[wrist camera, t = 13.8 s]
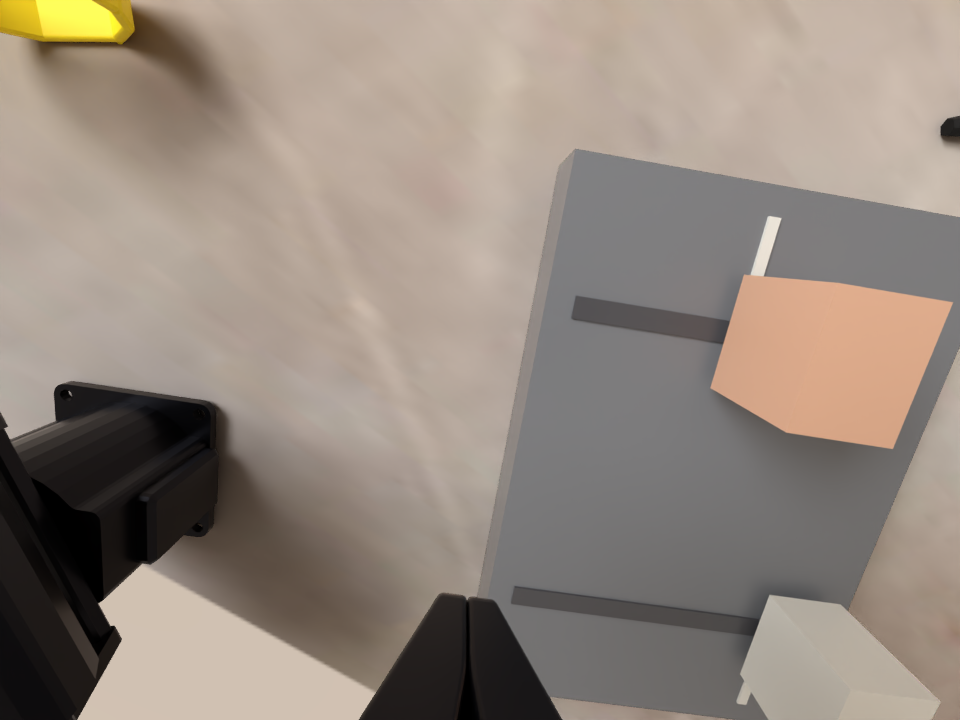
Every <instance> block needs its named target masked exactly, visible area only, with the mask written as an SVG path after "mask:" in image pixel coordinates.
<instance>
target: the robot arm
mask: <svg viewBox="0 0 960 720" xmlns="http://www.w3.org/2000/svg"><path fill="white" fill-rule="evenodd" d="M68 391H70V392H71V393H72V396H73V397H71V396H70V395H69V392H68ZM54 400H55V415H56V421H55V422H53V423H50V424H48V425H45V426H43V427H40V428H38V429H35V430H33V431H30V432H28V433H25V434H23V435H20V436H18V437H15V438H13V439H9V437H8V435H7V433H6V431H5V429H4V428H6V427H8V426H7V424H6V422H5V420H4V418H3V416H2V414H1V413H0V720H77V719H78V717H79V715H80V713H81V712H82V710H83V708H84V706H85V705H86V703H87V701H88V699H89V697H90V696H91V694H92V692H93V690H94V688H95V687H96V685H97V683H98V681H99V679H100V678H101V676H102V674H103V672H104V671H105V669H106V667H107V665H108V664H109V662H110V660H111V658H112V656H113V655H114V653H115V651H116V649H117V647H118V646H119V644H120V642H121V640H122V638H121V637H120V635H119V633H118V631H117V629H116V627H115V626H110V624H109V622H108V621H107V619H106V617H105V615H104V613H103V611H102V610H101V608H100V606H99V604H98V603H100V602H101V601H103V600H104V599H105V598H106V597H107V596H108V595H109V594H110V593H111V592H112V591H113V590H114V589H115V588H116V587H118V586H119V584H121V583H122V582H123V581H124V580H125V579H126V578H127V577H128V576H129V575H131V574H132V572H134V571H135V570H136V569H137V568H138V567H139V566H140V565H141V564H142V563H143V564H150V565H151V564H152V563H154V562H155V561H157V560H158V559H159V558H160V557H161V556H162V555H163V554H164V553H166V552H167V551H168V550H169V549H170V548H171V547H172V546H173V545H174V544H175V543H176V542H177V541H178V540H179V539H180V538H181V537H182V536H183V535H187V536H195V537H202V536H204V535H206V534H207V533H208V532H209V531H210V529H211V528H212V527H213V524H214V505H215V504H216V503H217V493H218V453H217V451H216V450H215V440H216V410H215V408H214V406H213V405H212V404H211V403H210V402H207V401H203V400H197V399H190V398H183V397H176V396H170V395H163V394H156V393H149V392H143V391H136V390H129V389H122V388H116V387H109V386H102V385H95V384H89V383H82V382H75V381H70V382H66V383H63V384H60V385H58V386H57V387H56V388H55V391H54ZM199 409H200V410H202V411H203V412H204V413H205V417H203V416H201V415H200V414H199V411H198V410H199ZM197 522H198V523H200V524H201V525H202V526H203V527H201V526H199V525H198V523H197ZM359 720H562V719H561V717H560V715H559V713H558V711H557V710H556V708H555V706H554V704H553V703H552V701H551V699H550V697H549V695H548V694H547V692H546V690H545V688H544V686H543V685H542V683H541V681H540V679H539V678H538V676H537V674H536V672H535V670H534V669H533V667H532V665H531V663H530V661H529V660H528V658H527V656H526V654H525V653H524V651H523V649H522V647H521V645H520V644H519V642H518V640H517V638H516V637H515V635H514V633H513V631H512V629H511V628H510V626H509V624H508V622H507V620H506V619H505V617H504V615H503V613H502V612H501V610H500V608H499V606H498V604H497V603H496V602H495V601H494V600H492V599H487V598H479V597H470V598H468V600H466V597H465V596H463V595H457V594H449V593H441V594H439V595H438V596H437V598H436V599H435V601H434V602H433V604H432V606H431V607H430V609H429V610H428V612H427V613H426V615H425V617H424V618H423V620H422V621H421V623H420V624H419V626H418V628H417V629H416V631H415V632H414V634H413V635H412V637H411V639H410V640H409V642H408V643H407V645H406V646H405V648H404V650H403V651H402V653H401V654H400V656H399V657H398V659H397V661H396V662H395V664H394V665H393V667H392V668H391V670H390V672H389V673H388V675H387V676H386V678H385V679H384V681H383V682H382V684H381V686H380V687H379V689H378V690H377V692H376V693H375V695H374V697H373V698H372V700H371V701H370V703H369V704H368V706H367V708H366V709H365V711H364V712H363V714H362V715H361V717H360V719H359Z"/></svg>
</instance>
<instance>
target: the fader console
mask: <svg viewBox="0 0 960 720" xmlns="http://www.w3.org/2000/svg"><path fill="white" fill-rule="evenodd" d="M744 275H754V276H765V277H777V278H788V279H799V280H811V281H822V282H834V283H842V284H848V285H854V286H860V287H866V288H871V289H877V290H883V291H889V292H895V293H901V294H907V295H913V296H919V297H925V298H930V299H936V300H942V301H948V302H953V304H952V306H951V309H950V311H949V314H948V316H947V319H946V321H945V323H944V326H943V328H942V331H941V333H940V336H939V338H938V340H937V343H936V345H935V348H934V350H933V353H932V355H931V357H930V360H929V362H928V365H927V367H926V370H925V372H924V374H923V377H922V379H921V382H920V384H919V387H918V389H917V391H916V394H915V396H914V399H913V401H912V404H911V406H910V408H909V411H908V413H907V416H906V418H905V421H904V423H903V426H902V428H901V430H900V433H899V435H898V438H897V440H896V443H895V445H894V447H893V449H890V448H883V447H877V446H870V445H863V444H857V443H850V442H844V441H837V440H831V439H824V438H818V437H811V436H805V435H798V434H792V433H786V432H784V431H783V430H781V429H779V428H778V427H776V426H774V425H772V424H771V423H769V422H767V421H766V420H764V419H762V418H761V417H759V416H757V415H755V414H754V413H752V412H750V411H749V410H747V409H745V408H744V407H742V406H740V405H738V404H737V403H735V402H733V401H732V400H730V399H728V398H726V397H725V396H723V395H721V394H720V393H718V392H716V391H715V390H713V389H711V388H710V387H711V384H712V381H713V377H714V374H715V371H716V367H717V364H718V360H719V357H720V354H721V350H722V347H723V344H724V340H725V337H726V334H727V330H728V327H729V323H730V320H731V317H732V313H733V310H734V307H735V303H736V300H737V296H738V293H739V290H740V286H741V283H742V280H743V276H744ZM959 347H960V217H955V216H949V215H943V214H938V213H932V212H926V211H921V210H915V209H910V208H904V207H898V206H893V205H887V204H882V203H876V202H870V201H865V200H859V199H854V198H848V197H842V196H837V195H831V194H826V193H820V192H814V191H809V190H803V189H798V188H792V187H786V186H781V185H775V184H770V183H764V182H758V181H753V180H747V179H742V178H736V177H730V176H725V175H719V174H714V173H708V172H702V171H697V170H691V169H686V168H680V167H674V166H669V165H663V164H657V163H652V162H646V161H641V160H635V159H629V158H624V157H618V156H613V155H607V154H601V153H596V152H590V151H585V150H579V149H575V150H574V151H573V152H572V153H571V154H570V155H569V156H568V157H567V158H566V159H565V160H564V161H563V162H562V163H561V164H560V166H559V168H558V173H557V179H556V184H555V189H554V195H553V200H552V205H551V210H550V216H549V221H548V226H547V231H546V237H545V242H544V247H543V253H542V258H541V263H540V268H539V274H538V279H537V284H536V289H535V295H534V300H533V305H532V311H531V316H530V321H529V326H528V332H527V337H526V342H525V347H524V353H523V358H522V363H521V369H520V374H519V379H518V384H517V390H516V395H515V400H514V405H513V411H512V416H511V421H510V427H509V432H508V437H507V442H506V448H505V453H504V458H503V463H502V469H501V474H500V479H499V485H498V490H497V495H496V500H495V506H494V511H493V516H492V521H491V527H490V532H489V537H488V543H487V548H486V553H485V558H484V564H483V569H482V574H481V579H480V585H479V590H478V595H477V597H479V598H487V599H492V600H494V601H495V602H496V603H497V604H498V606H499V608H500V610H501V612H502V613H503V615H504V617H505V619H506V620H507V622H508V624H509V626H510V628H511V629H512V631H513V633H514V635H515V637H516V638H517V640H518V642H519V644H520V645H521V647H522V649H523V651H524V653H525V654H526V656H527V658H528V660H529V661H530V663H531V665H532V667H533V669H534V670H535V672H536V674H537V676H538V678H539V679H540V681H541V683H542V685H543V686H544V688H545V690H546V692H547V694H548V695H549V697H556V698H565V699H573V700H581V701H589V702H597V703H605V704H613V705H621V706H629V707H637V708H645V709H653V710H661V711H669V712H678V713H686V714H694V715H702V716H710V717H718V718H726V719H734V720H768V718H767V717H766V715H765V714H764V712H763V710H762V709H761V707H760V705H759V704H758V702H757V701H756V699H755V697H754V696H753V694H752V693H751V691H750V689H749V688H748V686H747V685H746V683H745V681H744V680H743V678H742V677H741V675H740V673H741V670H742V667H743V665H744V662H745V659H746V657H747V654H748V651H749V648H750V646H751V643H752V640H753V638H754V635H755V632H756V630H757V627H758V624H759V622H760V619H761V616H762V614H763V611H764V608H765V605H766V603H767V600H768V597H769V595H775V596H783V597H790V598H797V599H805V600H812V601H819V602H827V603H834V604H841V605H842V606H843V607H844V608H845V609H846V610H847V611H848V608H849V606H850V603H851V601H852V599H853V596H854V594H855V592H856V589H857V587H858V585H859V582H860V580H861V578H862V575H863V573H864V571H865V568H866V566H867V563H868V561H869V559H870V556H871V554H872V552H873V549H874V547H875V545H876V542H877V540H878V538H879V535H880V533H881V531H882V528H883V526H884V523H885V521H886V519H887V516H888V514H889V512H890V509H891V507H892V505H893V502H894V500H895V498H896V495H897V493H898V491H899V488H900V486H901V483H902V481H903V479H904V476H905V474H906V472H907V469H908V467H909V465H910V462H911V460H912V458H913V455H914V453H915V451H916V448H917V446H918V444H919V441H920V439H921V436H922V434H923V432H924V429H925V427H926V425H927V422H928V420H929V418H930V415H931V413H932V411H933V408H934V406H935V404H936V401H937V399H938V396H939V394H940V392H941V389H942V387H943V385H944V382H945V380H946V378H947V375H948V373H949V371H950V368H951V366H952V364H953V361H954V359H955V356H956V354H957V352H958V349H959Z"/></svg>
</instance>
